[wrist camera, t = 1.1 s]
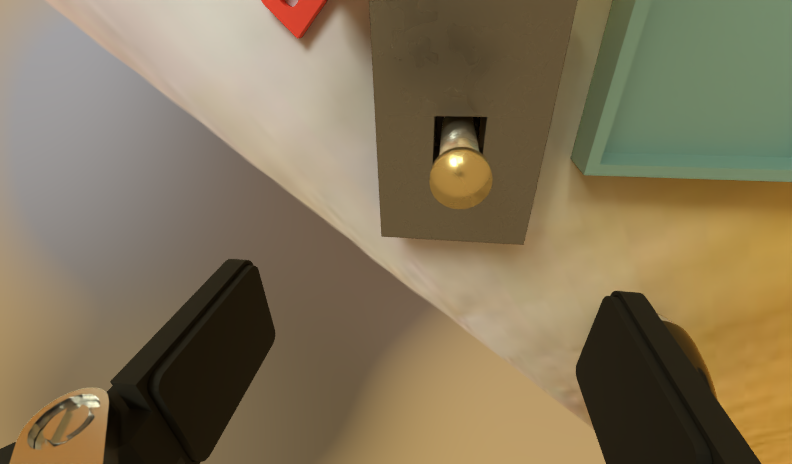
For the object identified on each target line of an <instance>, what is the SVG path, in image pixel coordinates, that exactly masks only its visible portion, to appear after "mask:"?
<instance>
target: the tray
mask: <svg viewBox="0 0 792 464" xmlns="http://www.w3.org/2000/svg"><path fill="white" fill-rule="evenodd" d="M571 159H572V161H573V162H574V163H575V164H576V166H577V167H578V168H579V170H580V171H581V172H582V173H583V175H596V176H626V177H656V178H686V179H716V180H746V181H776V182H792V0H613V2H612V6H611V9H610V13H609V17H608V21H607V24H606V28H605V32H604V36H603V39H602V43H601V47H600V51H599V54H598V58H597V62H596V66H595V69H594V73H593V77H592V81H591V84H590V88H589V92H588V96H587V99H586V103H585V107H584V110H583V114H582V118H581V122H580V125H579V129H578V133H577V137H576V140H575V144H574V148H573V152H572V155H571Z"/></svg>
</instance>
